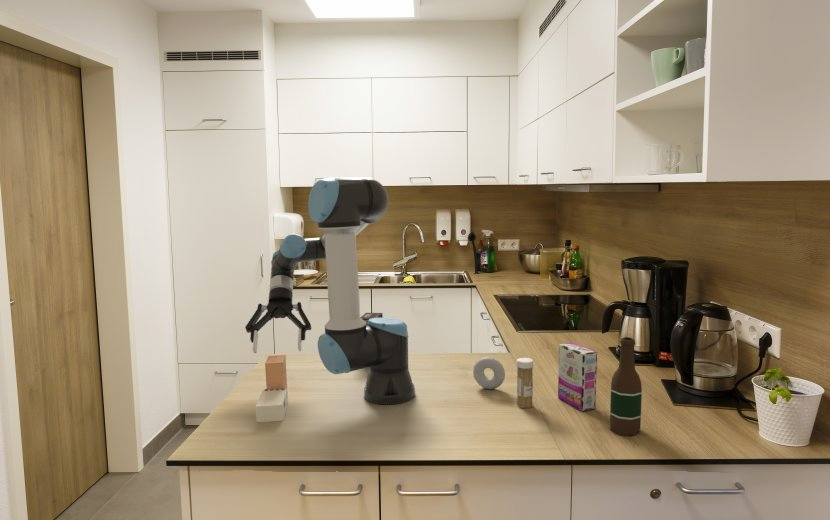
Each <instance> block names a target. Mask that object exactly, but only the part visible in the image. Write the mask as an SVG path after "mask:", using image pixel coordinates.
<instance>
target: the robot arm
mask: <svg viewBox="0 0 830 520" xmlns="http://www.w3.org/2000/svg"><path fill="white" fill-rule="evenodd" d="M389 203H390V202H389V195H388V192H387V190H386V188H385V187H384V186H383V184H382V183H381V182H379V181H378V180H376V179H375V178H371V177H364V176H363V177H329V178H328V177H327V178H321V179H318V180H317V181H316V182H315V183H314V184H313V186H312V188H311V189H310V192H309V196H308V205H307V206H308V214H309V217H310V219H311V221H313V222H314V223H317V227H318V230H319V231H320V232H321V233H323V235H322V236H321V237H320V236H319V237H313V238H311V237H309V238H304V237H303V236H302V235H300V234H296V233H290V234H288V235H286V236H285V237H284V239H283V241H281V243H280V245H279V249H278V250H277V251H275V252H274V253H272V256H271V257H272V258H271V260H270V261H271V263H270V264H271V267H270V269H271V270H270V280H269V293H268V302H267V305H266V304H265V305H263V304H262V303H258V304H257V308H256V310H255V311H254V314H252V316H251V318H250V319H249V321H248V322H247V323H246V325H245V328H244V329H245V330H246V333H250V343H252V351H253V353H254V354H257V352H258V341H259V333H258V332H259V331H260V330H261V329H262V328H263V327H264V326H265V325H266V324H267V323H268V322H269V321H271V320H273V319H279V318H280V319H285V318H288V319H289V320H290V321H291V322H292V323H293V324H294V325H295V326H296V327H297V328H298V332H297V333H298V335H297V338H298V339H297V349H298V352H302V342H303V341H306V332H307V331H311V330H312V324H311V321H310V320H309V319H308V317H307V315H306V313H305V312H304V310H303V305H302V303H301V302H300V301H298V302H297V303H295V304H293V291H294V275H295V274H294V273H295V270H296V268H297V266H298V265H299V263H304V262H305V263H306V262H312V261H313V262H314V261H322V260H325V266H326V269H325V270H326V282H327V297H328V310H329V311H328V313H329V315H328V316H329V320H328V322H326V323H325V325H324V333H322V334H320V335H319V336H318V340H317V351H318V354H319V357H320V360H321V362H322V364H323V366H324V367H325V369H326V370H327V371H328V372H329V373H331V374H333V375H341V374H348V373H352V372H355V371H359V370H362V369H367V368H369V370H368V374H367V379H366V381H365V386H364V389H363V390H364V391H363V393H364V394H363V395H364V399H365V400H367V401H368V402H370V403H373V404H379V405H396V404H402V403H406V402H409V401H410V400H413V398H415V396H416V386H415V384H414V383H413V379H412V375H411V372H410V371H409V369H410V368H409V332H408V326H407V324H406V322H404V321H403V320H401V319H396V318H391V317H383V318H371V319H369V320H368V323H367V324H368V326H366V322H365V321H364V320H363V319H361V317H362V316H361V305H360V304H361V303H360V289H359V286H360V285H359V271H358V270H359V269H358V255H357V254H358V251H357V236H358V234H360V233H361V232H362V231H363V230H364V229H365V228H366V227H368V226H369V225H371V224H372V225H373V224H375V223H377V222H378V221H379V220H380V219H382V218H383V216H384V215H385V213H386V212H387V211H388V207H389ZM294 309H295V311H296V312H298V315H299V316H300V318H301V320H302V321H303V322H302V321H300V319H299V318H298V317H296V315H295V314H294V313H293V312H292V311H293V310H294ZM266 310H267V311H266ZM265 311H266V312H265ZM264 312H265V314H264V315H263V313H264ZM262 315H263V316H262ZM261 316H262V317H261Z"/></svg>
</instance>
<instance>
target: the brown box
mask: <svg viewBox="0 0 830 520" xmlns="http://www.w3.org/2000/svg"><path fill="white" fill-rule="evenodd" d="M286 356H287V355H285V354H283V355H281V354H279V355H268V357H267V358H266V361H265V363H264V370H265V383H266V385H265V387H266V389H268V390H270V389H273V390H275V389H282V388H285V389H287V394H288V379H287V375H288V374H287V361H286V360H287V358H286Z"/></svg>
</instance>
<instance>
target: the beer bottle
mask: <svg viewBox="0 0 830 520" xmlns="http://www.w3.org/2000/svg"><path fill="white" fill-rule="evenodd" d="M619 343H620V351H619V352H620V354H619V363H618V368H617V369H616V370H615V371H614V373H613V375H612V377H611V381H610V382H611V383H610V404H609V405H610V407H609V425H610V427H609V430H610V431H611V432H612V433H615V434H616V435H618V436H625V437H634V436H637V435H639V434H640V433H641V422H642V421H641V420H642V398H643V397H642V395H643V389H642V388H643V387H642V380H641V378H640V374H639V373H638V372H637V371H636V366H635V364H636V362H635V345H636V341H635V338H632V337H631V336H630V337H626V336H625V337H621V338H620V340H619Z"/></svg>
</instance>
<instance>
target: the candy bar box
mask: <svg viewBox="0 0 830 520" xmlns="http://www.w3.org/2000/svg"><path fill="white" fill-rule="evenodd" d="M597 364H598V351H594V350H592V349H590V348H587V347H584V346H582V345H580V344H578V343H574V342H566V343H561V344H558V376H557V377H558V386H557V391H558V392H557V399H559V400H561V401H562V402H564V403H566V404H568V405H570V406H571V407H573V408H575V409H577V410H579V411H581V412H585V411H591V410H595V409H596V405H597V404H596V403H597V402H596V401H597V400H596V398H597V397H596V395H597V369H598V367H597V366H598V365H597Z"/></svg>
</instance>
